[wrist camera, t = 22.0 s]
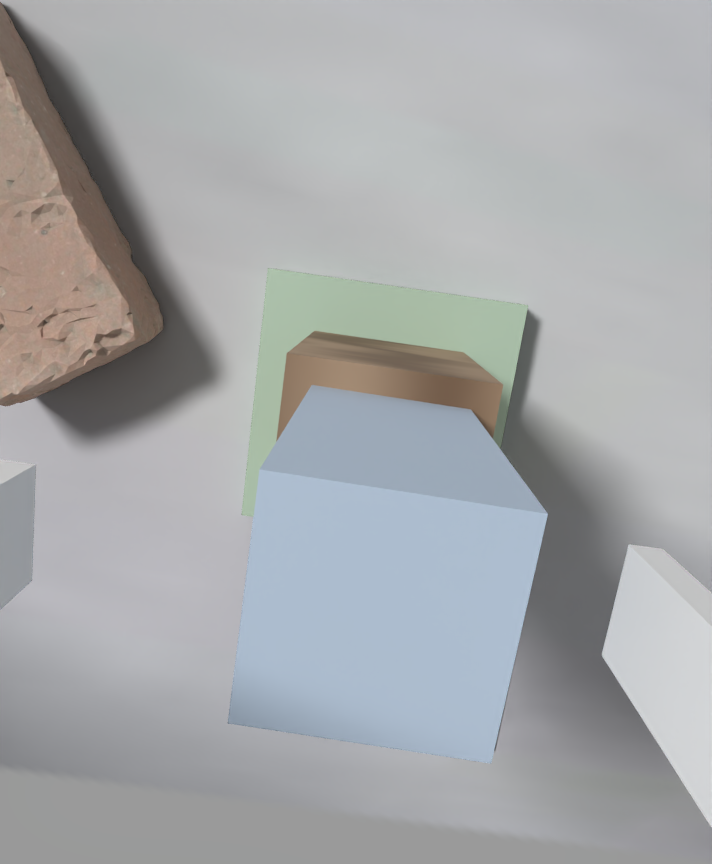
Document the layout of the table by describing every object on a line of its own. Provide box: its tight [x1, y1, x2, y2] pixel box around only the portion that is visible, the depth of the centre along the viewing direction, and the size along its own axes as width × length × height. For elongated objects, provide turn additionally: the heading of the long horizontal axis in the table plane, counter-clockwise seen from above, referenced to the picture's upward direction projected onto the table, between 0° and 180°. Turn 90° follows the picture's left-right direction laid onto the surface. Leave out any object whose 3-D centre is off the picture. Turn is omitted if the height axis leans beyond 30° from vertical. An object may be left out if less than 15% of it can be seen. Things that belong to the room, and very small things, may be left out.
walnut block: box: [276, 331, 503, 442], centre depth 27 cm, size 7×7×10 cm
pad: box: [242, 268, 528, 517], centre depth 33 cm, size 12×12×1 cm
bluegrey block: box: [228, 385, 548, 763], centre depth 17 cm, size 5×5×10 cm
